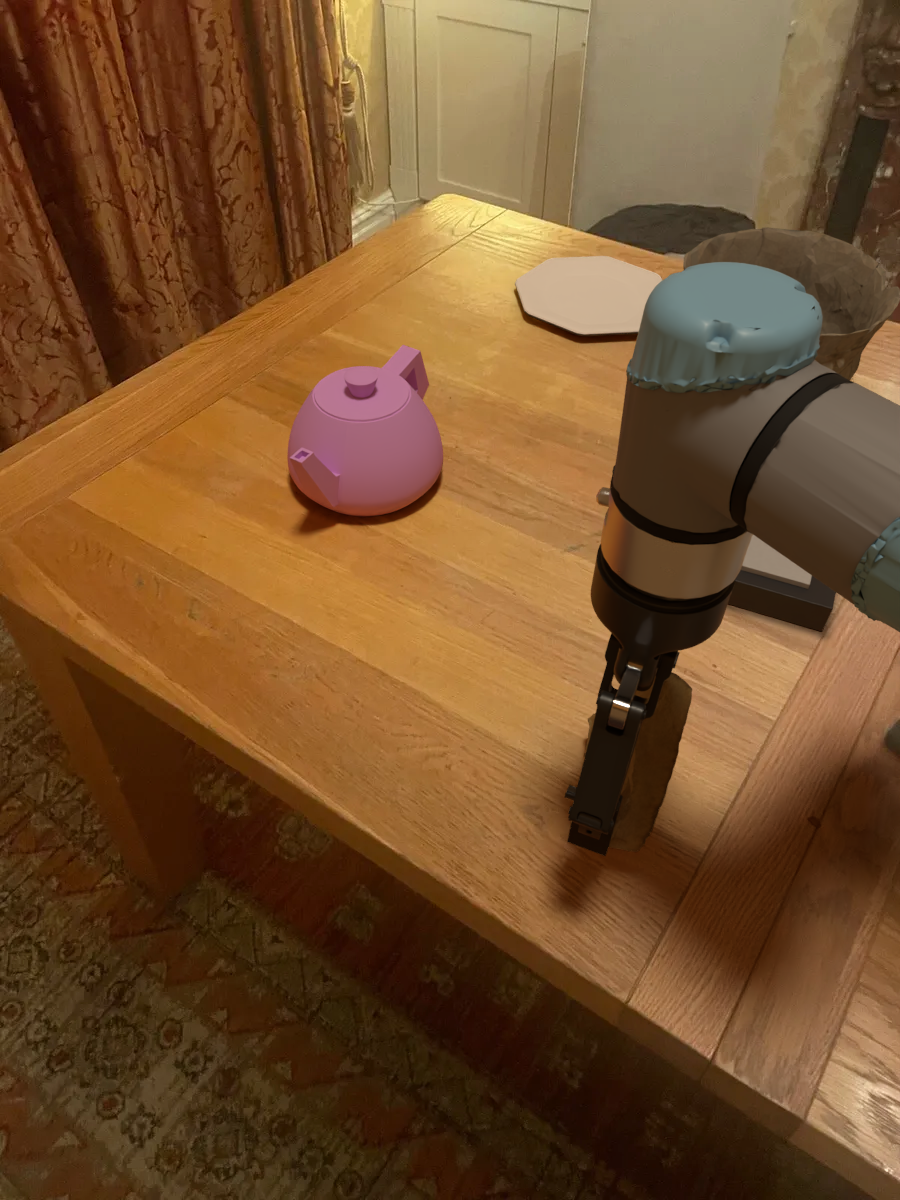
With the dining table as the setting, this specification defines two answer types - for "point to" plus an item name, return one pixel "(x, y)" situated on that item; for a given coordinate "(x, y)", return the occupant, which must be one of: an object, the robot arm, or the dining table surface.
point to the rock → (650, 764)
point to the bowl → (816, 283)
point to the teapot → (367, 438)
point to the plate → (587, 294)
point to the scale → (780, 588)
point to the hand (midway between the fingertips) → (610, 780)
